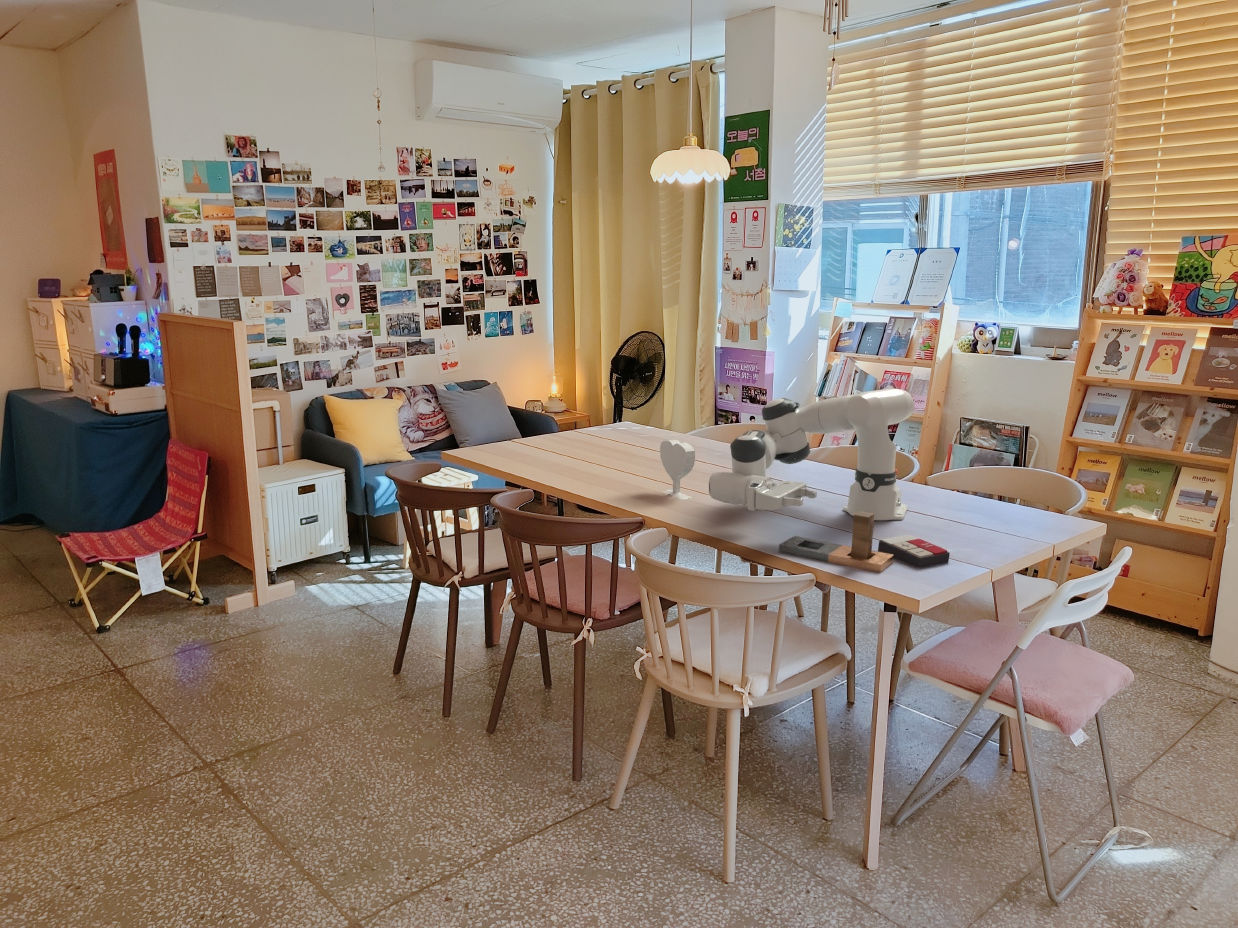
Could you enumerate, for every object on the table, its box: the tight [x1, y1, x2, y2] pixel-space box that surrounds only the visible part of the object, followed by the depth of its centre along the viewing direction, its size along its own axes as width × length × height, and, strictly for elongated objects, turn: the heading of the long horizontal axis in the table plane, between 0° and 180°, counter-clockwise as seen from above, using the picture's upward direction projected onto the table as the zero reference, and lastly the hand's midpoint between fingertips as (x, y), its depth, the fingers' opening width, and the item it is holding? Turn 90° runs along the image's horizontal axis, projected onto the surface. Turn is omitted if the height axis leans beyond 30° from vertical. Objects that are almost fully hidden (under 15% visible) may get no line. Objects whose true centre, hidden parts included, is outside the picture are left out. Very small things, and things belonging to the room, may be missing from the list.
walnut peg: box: [851, 511, 875, 560], centre depth 236 cm, size 4×4×13 cm
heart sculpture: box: [659, 439, 696, 500], centre depth 302 cm, size 16×5×18 cm, turn 31°
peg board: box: [778, 535, 895, 573], centre depth 241 cm, size 10×28×2 cm, turn 55°
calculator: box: [877, 534, 951, 569], centre depth 241 cm, size 11×4×15 cm
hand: (809, 498), depth 243 cm, fingers open, 8 cm apart
